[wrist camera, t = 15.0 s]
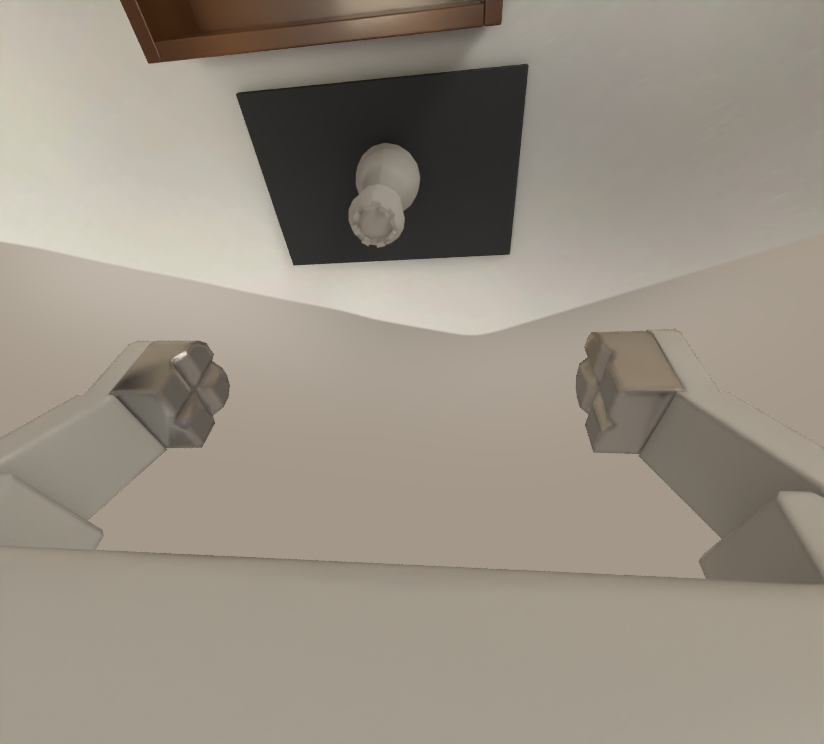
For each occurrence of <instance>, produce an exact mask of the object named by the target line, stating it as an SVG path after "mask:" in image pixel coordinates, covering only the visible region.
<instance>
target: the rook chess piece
mask: <svg viewBox="0 0 824 744" xmlns="http://www.w3.org/2000/svg"><path fill="white" fill-rule="evenodd" d="M419 183H420V174H419V170H418V165H417V163H416V162H415V160H414V159H413V157H412V156H411V154H410V153H409V152H408V151H406V150H405V149H403V148H402V147H400V146H399V145H395V144H389V143H382V144H379V145H375V146H372V147H371V148H370V149H369V150H368V151H367V152H365V153H364V154H363V155H362V157H361V160H360V162H359V164H358V166H357V171H356V187H357V190H358V193H359V195H358V196H357V197H356V198H355V199H353V201H352V203H351V206H350V208H349V223H350V225H351V228H352V231H353V232H354V234H355V236H356V235H357V236H358V237H359V239H361V240H362V241H361V242H362V243H363V244H365V245H367V246H369V244H371V245H377V248H379V247H383V246H385V245H386V244H390V243H392V242H393V241H394V240H396V239H397V238H398V237H399V236H400V234H401V232H402V231H403V229H404V221H405V217H404V214H403V211H404V210H405V209H407V208H408V207H409V206H411V204H412V202H413V201H414V199H415V197H416V196H417V192H418V190H419Z"/></svg>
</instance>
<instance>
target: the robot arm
mask: <svg viewBox="0 0 824 744" xmlns="http://www.w3.org/2000/svg"><path fill="white" fill-rule="evenodd" d="M585 351H586V353H587V356H588V357H587V358H586V359H585V360H583V361H582V362H581V363H580V364H579V368H578V372H577V375H576V393H577V399H578V402H579V406H580V408H582V409H583V410H584V411H585V412H586V413H587V414H589V415H588V418H587V421H586V424H585V426H586V429H587V433H588V436H589V439H590V443H591V446H592V449H593V452H598V453H626V454H640V455H639V457H640V458H641V459H642V460H643V461H644V462H645V463H646V464H647V465H648V466H649V467H650V468H651V469H652V470H653V471H654V472H655V473H656V474H657V475H658V476H659V477H660V478H661V479H662V480H663V481H664V482H665V483H666V484H667V485H668V486H669V487H670V488H671V489H672V490H673V491H674V492H675V493H676V494H677V495H678V496H679V497H680V498H681V499H682V500H683V501H685V503H686V504H687V505H688V506H689V507H690V508H691V509H692V510H693V511H695V513H697V515H698V516H699V517H700V518H701V519H702V520H703V521H704V522H705V523H706V524H707V525H708V526H709V527H710V528H711V529H712V530H713V531H714V532H715V533H716V534H718V536H719V537H720V538H721V540H720V541H719V542H718V543H716V544H715V545H714V546H713V547H712V548H710V549H709V550H708V551H707V552H706V553H704V555H703V556H702V557H701V558H700V560H699V563H700V565H701V568H702V570H703V573H704V575H705V578H706V579H698V578H697V579H696V578H677V577H656V576H635V575H612V574H592V573H570V572H550V571H528V570H508V569H487V568H466V567H465V568H464V567H445V566H424V565H403V564H401V565H400V564H382V563H361V562H339V561H318V560H297V559H275V558H256V557H234V556H213V555H191V554H170V553H169V554H168V553H149V552H128V551H106V550H95V549H96V548H97V546H98V544H99V543H100V541H101V539H102V538H103V536H104V535H103V530H102V529H100V528H98V527H97V526H95V525H94V524H92V523H90V522H89V521H87V520H88V519H90V518H91V517H92V516H93V515H94V514H95V513H96V512H97V511H99V510H100V509H101V508H102V507H103V506H104V505H105V504H107V503H108V502H109V501H110V500H111V499H112V498H113V497H114V496H116V495H117V494H118V493H119V492H120V491H121V490H122V489H123V488H124V487H126V486H127V485H128V484H129V483H130V482H131V481H132V480H134V479H135V478H136V477H137V476H138V475H139V474H140V473H141V472H142V471H144V470H145V469H146V468H147V467H148V466H149V465H150V464H152V463H153V462H154V461H155V460H156V459H157V458H158V457H159V456H161V455H162V454H163V453H164V452H165V451H166V450H167V449H166V448H194V447H195V448H198V447H202V446H203V444H204V443H205V441H206V439H207V437H208V435H209V433H210V431H211V430H212V428H213V426H214V424H215V421H214V418H213V415H214V414H215V413H217V412H218V411H219V410H220V409H221V408H223V407H224V405H225V403H226V401H227V399H228V396H229V387H230V384H229V381H228V377H227V375H226V373H225V372H224V370H223V368H222V367H220V366H219V365H217V364H215V363H214V362H212V359H213V355H214V354H213V352H212V351H211V349H210V348H209V346H208V345H207V343H204V342H201V341H137V342H134V343H131V344H129V345H128V346H127V347H126V348H125V349H124V350H123V351H122V353H121V354H120V355H119V356H118V357H117V358H116V359H115V360H114V361H113V363H112V364H111V365H110V366H109V367H108V368H107V369H106V371H105V372H104V373H103V374H102V375H101V376H100V377H99V378H98V379H97V381H96V382H95V383H94V384H93V385H92V386H91V387H90V389H88V391H87V392H86V393H85V394H84V395H76V396H74V397H73V398H71V399H69V400H67V401H66V402H64V403H62V404H60V405H58V406H57V407H55V408H53V409H51V410H49V411H48V412H46V413H44V414H42V415H40V416H39V417H37V418H35V419H33V420H32V421H30V422H28V423H26V424H24V425H23V426H21V427H19V428H17V429H16V430H14V431H12V432H10V433H8V434H7V435H5V436H3V437H1V438H0V744H824V447H822V446H820V445H819V444H817V443H815V442H814V441H812V440H810V439H808V438H807V437H805V436H803V435H802V434H800V433H798V432H797V431H795V430H793V429H792V428H790V427H788V426H787V425H784V424H783V423H781V422H780V421H778V420H776V419H775V418H773V417H771V416H770V415H768V414H766V413H764V412H763V411H761V410H759V409H758V408H756V407H754V406H753V405H751V404H749V403H747V402H746V401H744V400H742V399H741V398H739V397H737V396H736V395H734V394H732V393H730V392H720V391H719V389H718V388H717V386H716V385H715V383H714V382H713V380H712V379H711V377H710V376H709V374H708V373H707V371H706V369H705V368H704V366H703V365H702V363H701V362H700V360H699V359H698V357H697V356H696V354H695V353H694V352H693V350H692V348H691V347H690V345H689V344H688V342H687V340H686V339H685V338H684V336H683V335H682V333H681V332H680V331H678V330H676V329H661V330H646V331H615V332H591V334H590V335H589V337H588V338H587V341H586V344H585Z"/></svg>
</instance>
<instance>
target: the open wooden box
mask: <svg viewBox="0 0 824 744" xmlns="http://www.w3.org/2000/svg"><path fill="white" fill-rule="evenodd" d="M120 1H121V3H122V6H123V8H124V10H125V12H126V14H127V17H128V19H129V21H130V23H131V26H132V28H133V30H134V32H135V35H136V37H137V39H138V41H139V43H140V46H141V48H142V50H143V52H144V55H145V57H146V59H147V61H148V63H149V64H151V63H160V62H169V61H178V60H187V59H196V58H205V57H214V56H223V55H232V54H241V53H250V52H259V51H268V50H277V49H286V48H295V47H304V46H313V45H322V44H331V43H340V42H349V41H358V40H367V39H376V38H385V37H394V36H403V35H413V34H422V33H431V32H440V31H449V30H458V29H467V28H476V27H483V26H494V25H500V24H501V22H502V5H503V0H120Z"/></svg>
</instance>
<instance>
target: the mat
mask: <svg viewBox="0 0 824 744" xmlns="http://www.w3.org/2000/svg"><path fill="white" fill-rule="evenodd" d="M527 75H528V65H527V64H521V65H511V66H501V67H491V68H481V69H471V70H461V71H451V72H441V73H431V74H421V75H411V76H401V77H391V78H381V79H371V80H361V81H351V82H341V83H331V84H321V85H311V86H301V87H291V88H281V89H271V90H261V91H251V92H241V93H237V94H236V96H237V99H238V102H239V105H240V108H241V111H242V114H243V117H244V120H245V123H246V125H247V128H248V131H249V134H250V137H251V140H252V143H253V146H254V149H255V152H256V155H257V158H258V161H259V164H260V167H261V170H262V173H263V176H264V179H265V182H266V185H267V188H268V191H269V194H270V197H271V200H272V203H273V206H274V209H275V212H276V215H277V218H278V221H279V223H280V226H281V229H282V232H283V235H284V238H285V241H286V244H287V247H288V250H289V253H290V256H291V259H292V262H293V265H309V264H329V263H349V262H369V261H389V260H409V259H429V258H449V257H469V256H489V255H509V254H510V247H511V236H512V226H513V216H514V206H515V196H516V186H517V176H518V166H519V156H520V146H521V135H522V125H523V115H524V105H525V95H526V85H527ZM382 143H389V144H395V145H399V146H400V147H402V148H403V149H405V150H406V151H408V152H409V153H410V154H411V156H412V157H413V159H414V160H415V162H416V163H417V165H418V170H419V174H420V183H419V190H418V192H417V196H416V197H415V199H414V201H413V202H412V204H411V206H409V207H408V208H407V209H405V210H404V211H403V214H404V217H405V221H404V229H403V231H402V232H401V234H400V236H399V237H398V238H397V239H396V240H394V241H393V242H392V243H390V244H386V245H385V246H383V247H379V248H377V245H371V244H369V246H367V245H365V244H363V243H362V242H361V241H362V240H361V239H359V237H358V236H357V235H356V236H355V234H354V232H353V231H352V228H351V225H350V223H349V208H350V206H351V203H352V201H353V199H355V198H356V197H357V196H358V195H359V193H358V190H357V187H356V171H357V166H358V164H359V162H360V160H361V157H362V155H363V154H364V153H365V152H367V151H368V150H369V149H370V148H371V147H372V146H375V145H379V144H382Z"/></svg>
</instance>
